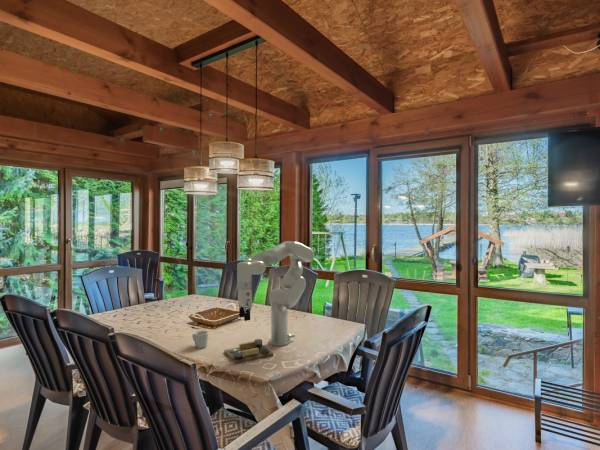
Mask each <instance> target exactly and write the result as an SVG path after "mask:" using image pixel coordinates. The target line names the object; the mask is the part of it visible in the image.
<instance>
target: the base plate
mask: <svg viewBox="0 0 600 450" xmlns="http://www.w3.org/2000/svg"><path fill="white" fill-rule="evenodd" d="M253 348H259V354H255V355H251V356H246V357H242V358H241V359H234V351H236V350H239V346H237V347H234V348H228V349H224V350H223V351H224V354H225V355H226V356H227V357H228V358H229V359H230V361H232V362H233V363H234V364H235V365H238V364H244V363H247V362H253V361H256V360H257V361H258V360H262V359H266V358H270V357H274V352H273V351H271V350H270V348H269V347H266V346H264V344H262V347H253ZM253 348H248V349H253ZM248 349H243V350H248ZM243 350H242V351H243Z"/></svg>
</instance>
